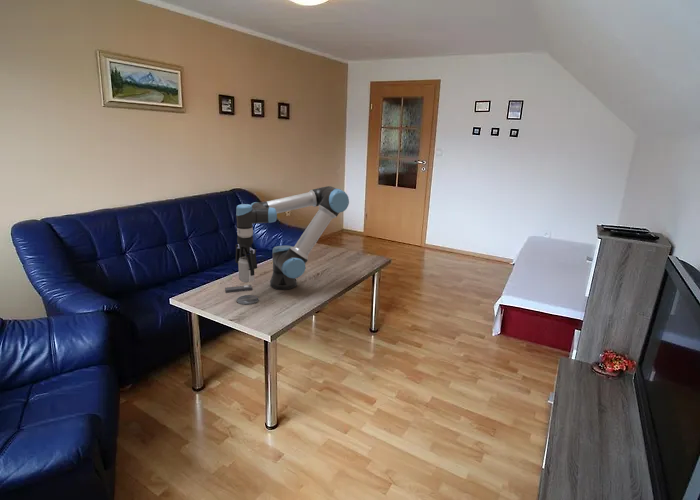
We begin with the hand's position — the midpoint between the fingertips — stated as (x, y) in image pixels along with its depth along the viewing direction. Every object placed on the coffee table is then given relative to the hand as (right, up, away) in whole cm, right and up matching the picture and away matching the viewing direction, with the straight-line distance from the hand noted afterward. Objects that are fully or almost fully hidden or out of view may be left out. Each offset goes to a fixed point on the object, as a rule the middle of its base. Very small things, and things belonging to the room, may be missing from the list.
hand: (246, 278), depth 205 cm
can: (0, -1, 0) cm, 1 cm away
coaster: (0, -11, +3) cm, 12 cm away
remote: (-8, -8, +16) cm, 19 cm away
